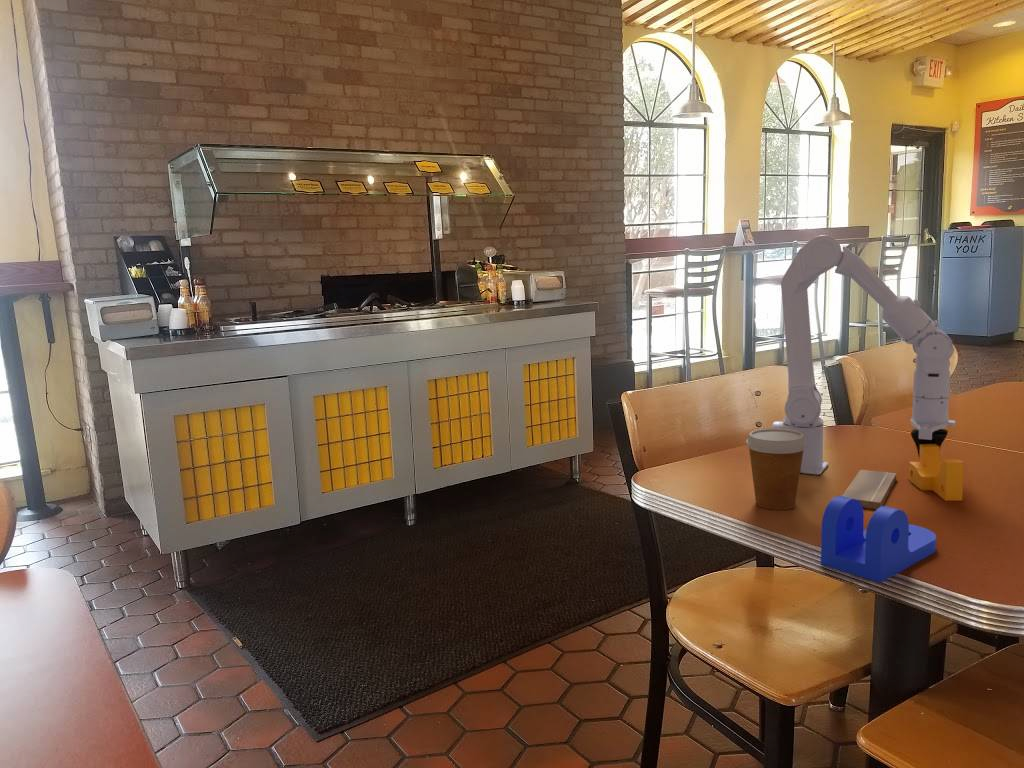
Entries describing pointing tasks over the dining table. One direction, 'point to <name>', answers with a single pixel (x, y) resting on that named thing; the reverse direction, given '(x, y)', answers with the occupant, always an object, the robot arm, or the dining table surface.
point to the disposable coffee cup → (776, 466)
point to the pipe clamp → (937, 473)
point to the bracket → (871, 540)
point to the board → (871, 488)
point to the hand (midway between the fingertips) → (927, 469)
